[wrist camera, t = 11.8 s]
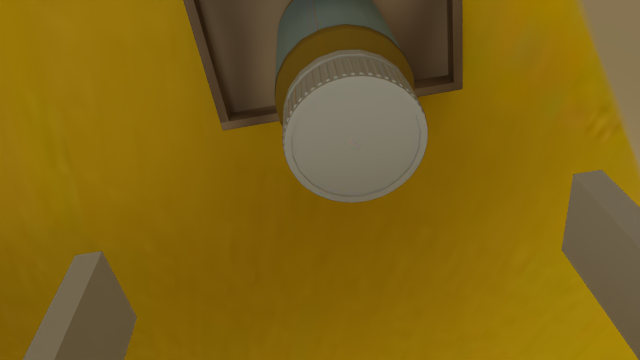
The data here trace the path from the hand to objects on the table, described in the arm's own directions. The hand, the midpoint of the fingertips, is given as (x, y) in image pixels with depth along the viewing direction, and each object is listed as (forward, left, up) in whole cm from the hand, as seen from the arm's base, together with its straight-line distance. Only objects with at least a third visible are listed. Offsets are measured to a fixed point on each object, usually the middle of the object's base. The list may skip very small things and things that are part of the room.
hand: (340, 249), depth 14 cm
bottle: (+1, -1, -23) cm, 23 cm away
